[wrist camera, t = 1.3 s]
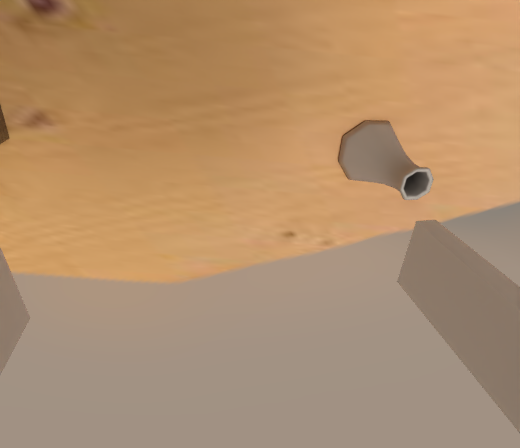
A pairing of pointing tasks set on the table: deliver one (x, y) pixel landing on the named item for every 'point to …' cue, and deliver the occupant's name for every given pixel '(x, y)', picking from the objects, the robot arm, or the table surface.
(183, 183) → the table surface
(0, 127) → the block
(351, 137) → the flask
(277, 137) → the table surface
